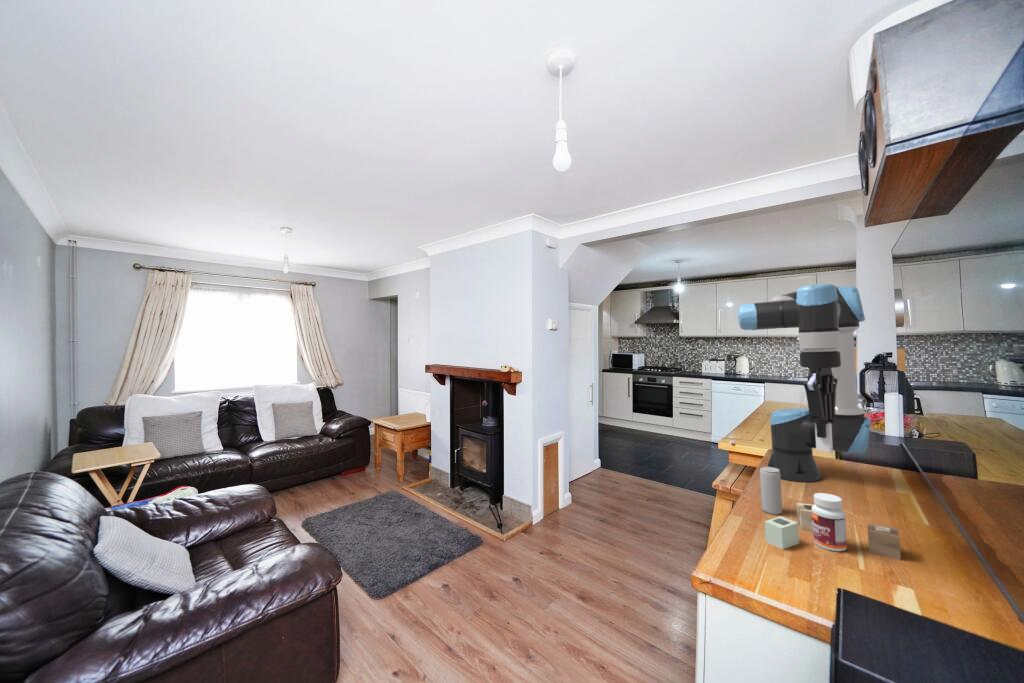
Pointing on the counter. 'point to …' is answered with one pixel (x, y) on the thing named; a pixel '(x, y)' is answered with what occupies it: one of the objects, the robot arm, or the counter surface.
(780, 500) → the beverage can
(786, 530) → the sage block
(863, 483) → the counter surface
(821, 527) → the pill bottle
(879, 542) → the walnut block
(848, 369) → the robot arm
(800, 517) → the beech block
